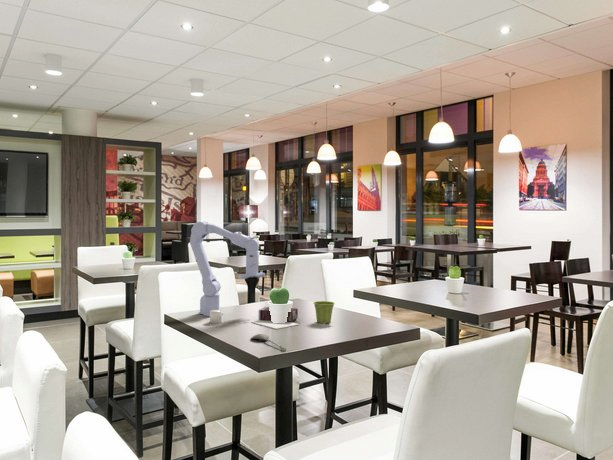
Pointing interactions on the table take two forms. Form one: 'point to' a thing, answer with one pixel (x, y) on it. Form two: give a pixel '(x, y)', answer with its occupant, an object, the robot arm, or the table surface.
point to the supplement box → (265, 315)
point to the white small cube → (215, 316)
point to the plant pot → (323, 311)
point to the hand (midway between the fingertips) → (251, 293)
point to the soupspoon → (265, 337)
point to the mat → (274, 324)
